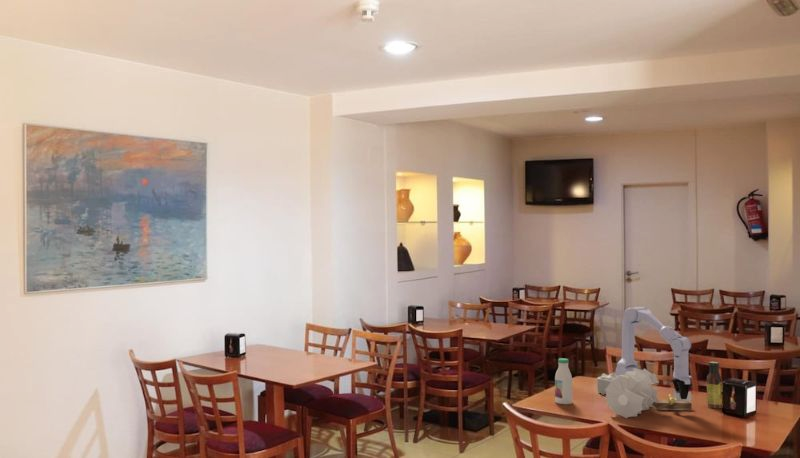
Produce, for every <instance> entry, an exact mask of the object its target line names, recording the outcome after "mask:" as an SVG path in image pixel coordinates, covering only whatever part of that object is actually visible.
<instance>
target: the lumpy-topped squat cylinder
mask: <svg viewBox="0 0 800 458" xmlns="http://www.w3.org/2000/svg"><path fill="white" fill-rule="evenodd" d="M616 377H617V376H616V374H614V373H609V374H607V373H602V374H601V376H598V377H597V378H596V379H597V381H596V384H597V385H596V387H597V390H596V391H597V392H598V393H597V394H599V393H601V394H600V395H604V394H606V392H607V391H605V389H606V388H607V386H608V385H609V384H610V380H612V379H616Z"/></svg>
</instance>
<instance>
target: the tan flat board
mask: <svg viewBox="0 0 800 458" xmlns="http://www.w3.org/2000/svg"><path fill="white" fill-rule="evenodd" d="M652 406H653V407H652V408H653V409H654V410H655V411H693V407H692V402H691V401H676V400H675V399H674V405H670V404H669V401H668V399H659V398H658V400H656V401H655V402H654V403H653V404H652Z"/></svg>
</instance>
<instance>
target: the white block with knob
mask: <svg viewBox="0 0 800 458" xmlns="http://www.w3.org/2000/svg"><path fill="white" fill-rule="evenodd" d="M672 393H673V394H672V398H673V399H674V400H676V401H689V402H692V392H691V391H689V392H688V396H687V399H681V396H680V391H675V389H674V390H673V391H672Z"/></svg>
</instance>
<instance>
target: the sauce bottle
mask: <svg viewBox="0 0 800 458" xmlns="http://www.w3.org/2000/svg"><path fill="white" fill-rule="evenodd" d="M708 366H709V367H708V368H709V370H708V372H709V373H708V374H707V376H706V400H707V401H706V402H707V407H708V408H710V409H722V408H723V404H722V392H723V379H722V377H721V375H720V369H719V366H720V363H719V362H718V361H709V362H708Z"/></svg>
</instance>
